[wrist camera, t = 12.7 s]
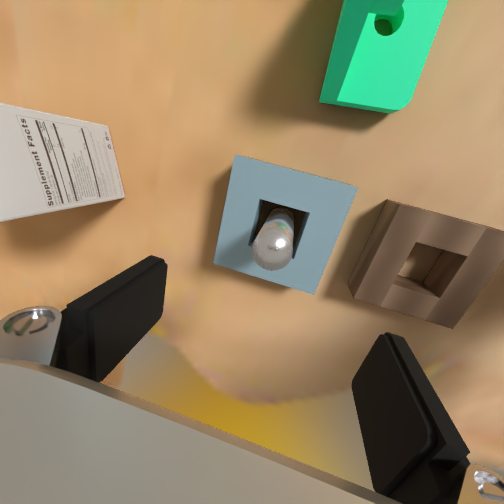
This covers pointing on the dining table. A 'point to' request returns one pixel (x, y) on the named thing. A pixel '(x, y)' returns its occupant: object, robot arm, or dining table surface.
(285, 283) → the socket block
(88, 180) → the supplement box
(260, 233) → the steel pin
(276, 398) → the dining table surface
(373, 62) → the camera mount
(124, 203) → the dining table surface
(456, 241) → the walnut mount block
